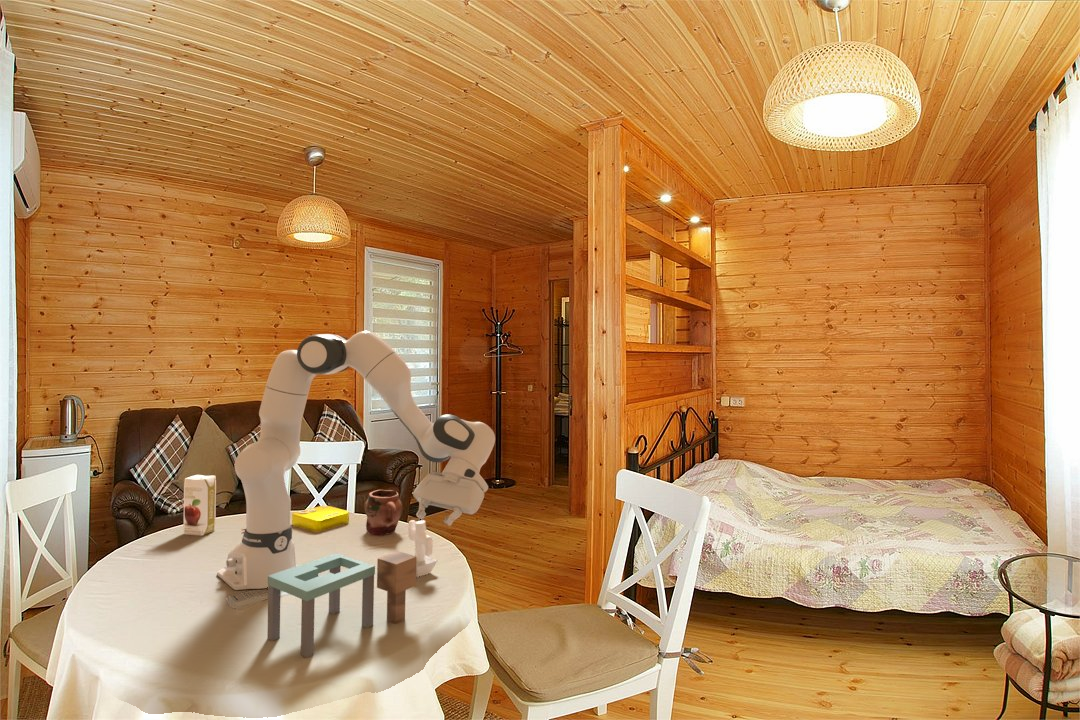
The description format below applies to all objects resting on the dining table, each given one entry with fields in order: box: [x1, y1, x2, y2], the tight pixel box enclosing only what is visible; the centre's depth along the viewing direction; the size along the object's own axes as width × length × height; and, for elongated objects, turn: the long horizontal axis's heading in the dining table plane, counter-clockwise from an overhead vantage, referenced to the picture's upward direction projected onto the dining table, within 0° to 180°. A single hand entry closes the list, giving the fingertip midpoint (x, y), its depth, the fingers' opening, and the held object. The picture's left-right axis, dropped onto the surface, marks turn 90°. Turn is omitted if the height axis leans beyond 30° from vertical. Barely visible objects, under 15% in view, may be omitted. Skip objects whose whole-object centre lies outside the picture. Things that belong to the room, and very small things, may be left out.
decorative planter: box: [363, 489, 403, 537], centre depth 204 cm, size 20×12×14 cm, turn 42°
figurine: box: [407, 519, 438, 578], centre depth 169 cm, size 7×9×15 cm
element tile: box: [291, 504, 350, 533], centre depth 213 cm, size 15×15×5 cm
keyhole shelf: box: [266, 552, 376, 659], centre depth 134 cm, size 18×14×14 cm
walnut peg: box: [376, 550, 417, 625], centre depth 140 cm, size 6×6×15 cm
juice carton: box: [183, 474, 217, 537], centre depth 199 cm, size 8×9×19 cm
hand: (432, 520), depth 150 cm, fingers open, 8 cm apart
